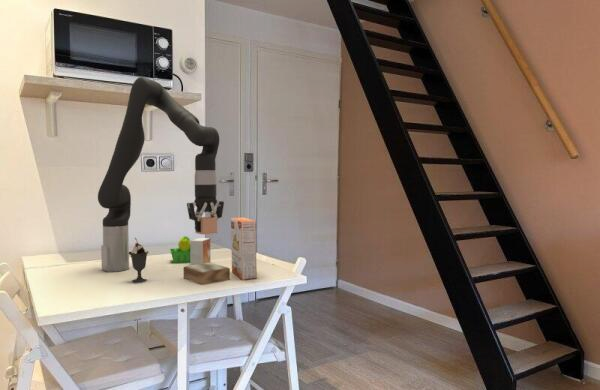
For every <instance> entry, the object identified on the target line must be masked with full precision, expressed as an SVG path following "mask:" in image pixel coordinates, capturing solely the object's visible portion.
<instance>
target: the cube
mask: <svg viewBox="0 0 600 390" xmlns="http://www.w3.org/2000/svg"><path fill="white" fill-rule="evenodd" d="M200 221H201V232H196V230H195V229H194V230H195V232H194V233H195V234H197V235H198V234H199V235H210V234H211V235H212V234H217V233H218V219H217V218H216V217H211V216H202V217H201V220H200Z"/></svg>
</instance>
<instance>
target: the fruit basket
mask: <svg viewBox="0 0 600 390" xmlns="http://www.w3.org/2000/svg"><path fill="white" fill-rule="evenodd" d="M190 241H191V240H190V238H189V236H187V235H183V237H181V238H180V240H179V241H178V244H177V246H178V247H176V248H170V249H169V250H170V254H171V258H172V262H173V263H174V264H177V263H178V264H179V263H190Z"/></svg>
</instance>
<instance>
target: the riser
mask: <svg viewBox="0 0 600 390" xmlns="http://www.w3.org/2000/svg"><path fill="white" fill-rule="evenodd" d="M230 273H231V270H230V268H229V267H228V266H224V265H220V264H218V263H217V264H216V263H213V262H211V261H210V262H209V263H202V264H196V265H191V264H190V265H185V266H183V279H185V280H189V281H191V282H194V283H197V284H199V285H201V286H203V285H208V284H214V283H219V282H224V281H230V280H231V277H230V275H231V274H230Z"/></svg>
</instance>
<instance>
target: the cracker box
mask: <svg viewBox="0 0 600 390" xmlns="http://www.w3.org/2000/svg"><path fill="white" fill-rule="evenodd" d="M230 233H231V234H230V236H231V237H230V238H231V239H230V240H231V242H230V243H231V272H232V273H233V274H235V276H237V278H239V279H240V280H241V281H247V280H253V279H254V280H256V279H257V268H258V267H257V221H256V220H252V219H250V218H247V217H242V216H241V217H240V216H239V217H230Z"/></svg>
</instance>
